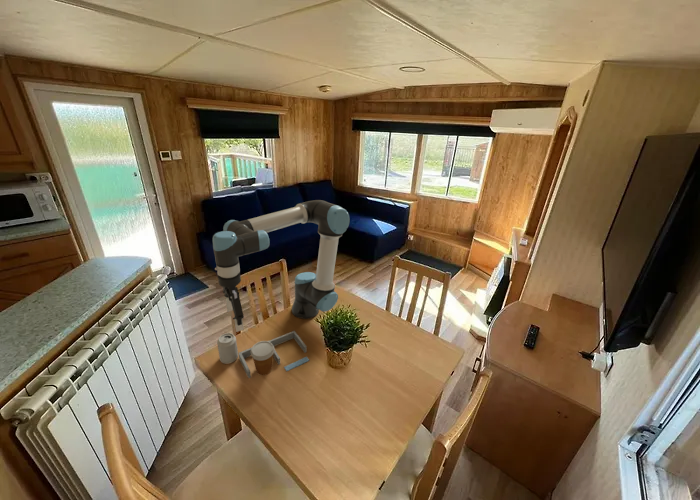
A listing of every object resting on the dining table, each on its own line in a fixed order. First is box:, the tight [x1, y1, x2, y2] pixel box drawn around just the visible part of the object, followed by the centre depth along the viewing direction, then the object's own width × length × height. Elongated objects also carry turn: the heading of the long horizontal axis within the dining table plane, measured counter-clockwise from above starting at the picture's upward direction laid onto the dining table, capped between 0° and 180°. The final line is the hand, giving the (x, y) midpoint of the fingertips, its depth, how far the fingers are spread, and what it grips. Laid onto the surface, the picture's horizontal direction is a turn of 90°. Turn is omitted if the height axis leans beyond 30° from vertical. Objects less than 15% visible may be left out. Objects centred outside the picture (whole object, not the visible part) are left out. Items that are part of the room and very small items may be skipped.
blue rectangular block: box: [283, 356, 310, 372], centre depth 123 cm, size 11×2×1 cm, turn 127°
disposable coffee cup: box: [250, 340, 276, 376], centre depth 117 cm, size 10×10×12 cm
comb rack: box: [238, 330, 308, 379], centre depth 126 cm, size 27×12×4 cm, turn 127°
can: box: [216, 332, 239, 364], centre depth 121 cm, size 8×8×12 cm
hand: (235, 319), depth 110 cm, fingers open, 13 cm apart
